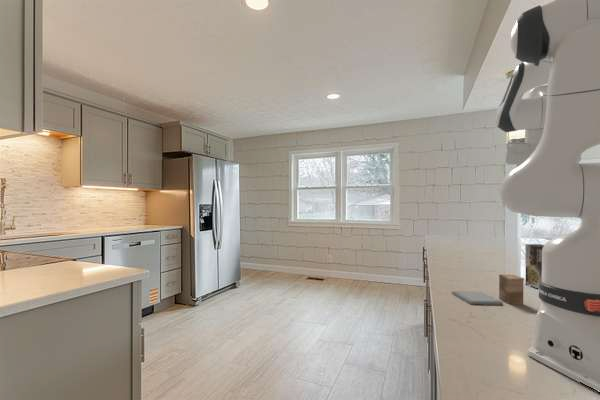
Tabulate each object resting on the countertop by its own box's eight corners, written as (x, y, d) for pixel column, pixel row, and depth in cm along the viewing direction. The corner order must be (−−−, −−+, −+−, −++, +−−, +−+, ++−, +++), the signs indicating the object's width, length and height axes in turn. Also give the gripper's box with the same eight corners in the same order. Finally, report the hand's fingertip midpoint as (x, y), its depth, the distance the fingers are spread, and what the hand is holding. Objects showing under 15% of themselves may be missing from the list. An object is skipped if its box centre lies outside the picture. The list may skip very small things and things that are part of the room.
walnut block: (523, 304, 92) (523, 278, 92) (508, 304, 92) (509, 277, 92) (512, 299, 97) (513, 274, 97) (498, 299, 96) (499, 274, 97)
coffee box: (561, 292, 107) (561, 247, 107) (543, 291, 107) (543, 246, 107) (541, 285, 116) (541, 243, 116) (524, 284, 116) (524, 243, 116)
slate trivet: (502, 305, 91) (502, 302, 91) (470, 304, 91) (470, 301, 91) (480, 294, 102) (480, 291, 102) (451, 293, 102) (451, 290, 102)
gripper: (502, 139, 107) (501, 177, 110) (576, 135, 90) (573, 180, 92) (511, 138, 110) (510, 175, 113) (584, 133, 93) (581, 177, 95)
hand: (539, 177), depth 102 cm, fingers open, 8 cm apart
